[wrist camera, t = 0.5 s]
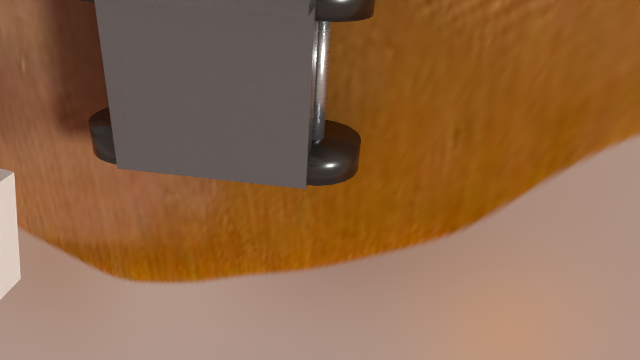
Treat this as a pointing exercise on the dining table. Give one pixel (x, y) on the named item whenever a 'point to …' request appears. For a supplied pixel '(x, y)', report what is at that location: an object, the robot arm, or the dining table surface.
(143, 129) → the trolley
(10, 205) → the robot arm
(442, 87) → the dining table surface
